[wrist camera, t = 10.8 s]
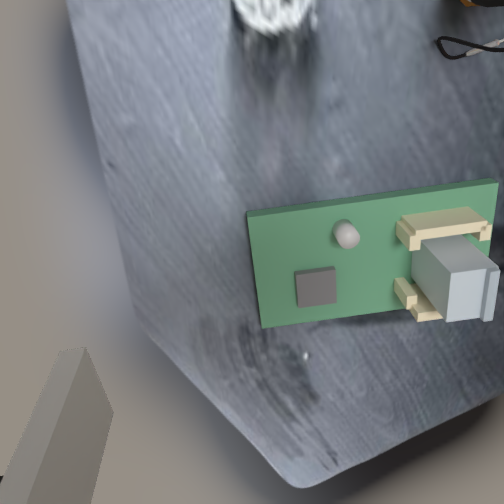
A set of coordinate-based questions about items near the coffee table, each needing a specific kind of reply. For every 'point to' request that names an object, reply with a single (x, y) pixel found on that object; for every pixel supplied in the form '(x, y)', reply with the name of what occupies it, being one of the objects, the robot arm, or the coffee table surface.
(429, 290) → the plug
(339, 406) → the coffee table surface
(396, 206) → the board
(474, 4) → the multimeter
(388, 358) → the coffee table surface
